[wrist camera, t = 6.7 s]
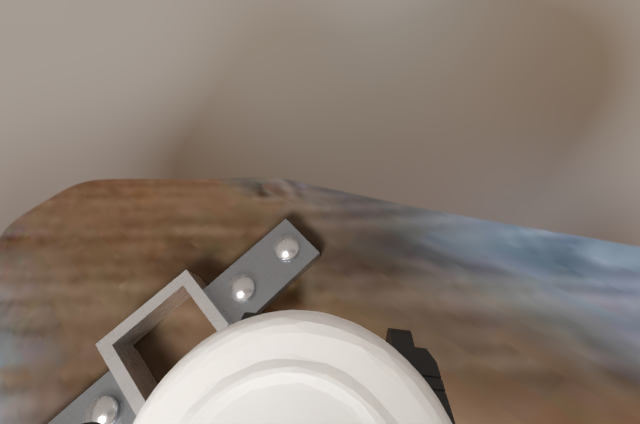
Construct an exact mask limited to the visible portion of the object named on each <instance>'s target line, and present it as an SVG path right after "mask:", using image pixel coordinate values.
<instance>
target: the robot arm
mask: <svg viewBox="0 0 640 424" xmlns="http://www.w3.org/2000/svg"><path fill="white" fill-rule="evenodd" d="M256 315H260V313H251V312H245V313H244V315H243V316H242V318H241V320H244V319H247V318H250V317H253V316H256ZM241 320H240V321H241ZM228 326H230V325H228ZM228 326H227V327H228ZM386 342H387V343H388V344H390V345H391V346H392V347H394V348H395V349H396V350H397V351H398V352H399V353H400V354H401V355H402V356H403V357H404V358H406V359H407V360H408V361H409V362H410V364H411V365H412V366H413V367H414V368H415V369H416V370H417V371H418V372H419V373H420V374H421V376H422V377H423V378H424V379H425V381H426V382H427V383H428V384H429V386H430V387H431V389H432V390H433V392H434V393H435V394H436V396H437V397H438V399H439V400H440V402H441V404H442V406H443V408H444V409H445V411H446V413H447V415H448V417H449V418H450V420H451V422H452V424H455V421H454V418H453V415H452V412H451V408H450V405H449V402H448V399H447V395H446V393H445V389H444V385H443V382H442V380H441V376H440V372H439V369H438V366H437V363H436V361H435V360H434V358H433V357H432V356H431V354H430V353H429V352H428V350H427V349H424V348H416V347H414V342H413V338H412V334H411V332H410V331H409V330H400V329H391V328H388V331H387V336H386ZM82 424H101V423H98V422H87V423H82Z"/></svg>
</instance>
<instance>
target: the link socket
mask: <svg viewBox="0 0 640 424" xmlns="http://www.w3.org/2000/svg"><path fill="white" fill-rule="evenodd" d="M206 287H207V285H206V284H205V283H204V282H203V280H202V279H201V278H200V276H198V275H196V274H194V273H192V272H190V271H188V270H185V271H184V272H183V273H181V274H180V275H179V276H178V277H177V278H175V279H174V280H173V281H172V282H170V283H169V284H168V285H167V286H166V287H164V288H163V289H162V290H161V291H160V292H158V293H157V294H156V295H155V296H154V297H152V298H151V299H150V300H149V301H147V302H146V303H145V304H144V305H143V306H141V307H140V308H139V309H138V310H137V311H135V312H134V313H133V314H132V315H130V316H129V317H128V318H127V319H126V320H124V321H123V322H122V323H121V324H120V325H118V326H117V327H116V328H115V329H114V330H112V331H111V332H110V333H109V334H107V335H106V336H105V337H104V338H103V339H101V340H100V341H99V342H98V343H97V344H95V345H96V346H97V348H98V350H99V352H100V353H101V355H102V357H103V359H104V360H105V362H106V364H107V366H108V367H109V369H110V371H111V373H112V375H113V376H114V378H115V380H116V382H117V383H118V385H119V387H120V389H121V390H122V392H123V394H124V396H125V397H126V399H127V401H128V403H129V404H130V406H131V408H132V410H133V411H134V413H135V415H136V416H137V414H138V413H139V411H140V409H141V408H142V406H143V405H144V403H145V402H146V400H147V399H148V397H149V396H150V394H151V393H152V392H153V390H154V389H155V388H156V386H157V385H158V383H157V382H156V380H155V378H154V377H153V375H152V374H151V372H150V370H149V369H148V367H147V366H146V364H145V362H144V361H143V359H142V357H141V356H140V354H139V353H138V351H137V349H136V348H135V346H134V344H136V343H137V342H138V341H139V340H140V339H141V338H143V337H144V336H145V335H146V334H147V333H148V332H150V331H151V330H152V329H153V328H154V327H155V326H157V325H158V324H159V323H160V322H161V321H162V320H164V319H165V318H166V317H167V316H168V315H169V314H171V313H172V312H173V311H174V310H175V309H176V308H178V307H179V306H180V305H181V304H182V303H183V302H185V301H186V300H187V299H188V298H189V297H190V296H191V297H192V298H193V299H194V301H195V302H196V303H197V305H198V306H199V307H200V309H201V310H202V311H203V313H204V314H205V315H206V317H207V318H208V319H209V321H210V322H211V323H212V325H213V326H214V327H215V329H216V330H217V331H220V330H222V329H224V328H226V327H227V326H228V325H232V323H231V321H230V320H229V319H228V318H227V316H226V315H225V314H224V312H223V311H222V310H221V309H220V307H219V306H218V305H217V303H216V302H215V301H214V300H213V298H212V297H211V296H210V294H209V293H208V292H207V291H206V289H205V288H206Z"/></svg>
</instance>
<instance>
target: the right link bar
mask: <svg viewBox="0 0 640 424" xmlns="http://www.w3.org/2000/svg"><path fill="white" fill-rule="evenodd" d="M319 258H320V252H319V251H318V250H317V249H316V248H315V247H314V246H313V245H312V244H311V243H310V242H309V241H308V240H307V239H306V238H305V237H304V236H303V235H302V234H301V233H300V232H299V231H298V230H297V229H296V228H295V227H294V226H293V225H292V224H291V223H290V222H289V221H288V220H287V219H285V220H284V221H282V222H281V223H280V224H279V225H278V226H277V227H275V228H274V229H273V230H272V231H271V232H270V233H268V234H267V235H266V236H265V237H264V238H263V239H261V240H260V241H259V242H258V243H257V244H256V245H254V246H253V247H252V248H251V249H250V250H249V251H248V252H246V253H245V254H244V255H243V256H242V257H241V258H239V259H238V260H237V261H236V262H235V263H234V264H232V265H231V266H230V267H229V268H228V269H227V270H225V271H224V272H223V273H222V274H221V275H220V276H218V277H217V278H216V279H215V280H214V281H213V282H212V283H210V284H209V285H208V286H207V287H206V288H205V289H206V291H207V292H208V293H209V294H210V296H211V297H212V298H213V300H214V301H215V302H216V303H217V305H218V306H219V307H220V309H221V310H222V311H223V312H224V314H225V315H226V316H227V318H228V319H229V320H230V321H231V323H232V324H234V323H236V322H238V321H240V320H241V318H242V316H243V315H244V313H245V312H251V313H260V314H261V313H262V312H263V311H264V310H265V309H266V308H267V307H268V306H269V305H270V304H271V303H272V302H273V301H274V300H275V299H277V298H278V297H279V296H280V295H281V294H282V293H283V292H284V291H285V290H286V289H287V288H288V287H289V286H290V285H291V284H292V283H294V282H295V281H296V280H297V279H298V278H299V277H300V276H301V275H302V274H303V273H304V272H305V271H306V270H307V269H308V268H309V267H310V266H312V265H313V264H314V263H315V262H316V261H317V260H318V259H319Z"/></svg>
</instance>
